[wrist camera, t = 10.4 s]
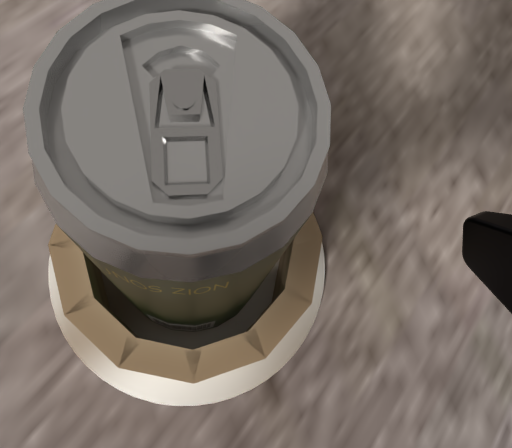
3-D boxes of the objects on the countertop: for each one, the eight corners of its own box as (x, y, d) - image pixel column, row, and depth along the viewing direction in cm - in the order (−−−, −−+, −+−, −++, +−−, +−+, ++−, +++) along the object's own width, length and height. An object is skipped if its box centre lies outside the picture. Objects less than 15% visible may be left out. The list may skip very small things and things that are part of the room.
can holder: (373, 256, 20) (406, 234, 17) (196, 471, 17) (196, 495, 14) (187, 96, 22) (186, 48, 19) (-10, 269, 18) (-54, 247, 15)
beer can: (264, 328, 19) (368, 259, 7) (123, 339, 18) (-6, 282, 7) (252, 199, 20) (324, -24, 9) (122, 204, 19) (17, -32, 8)
